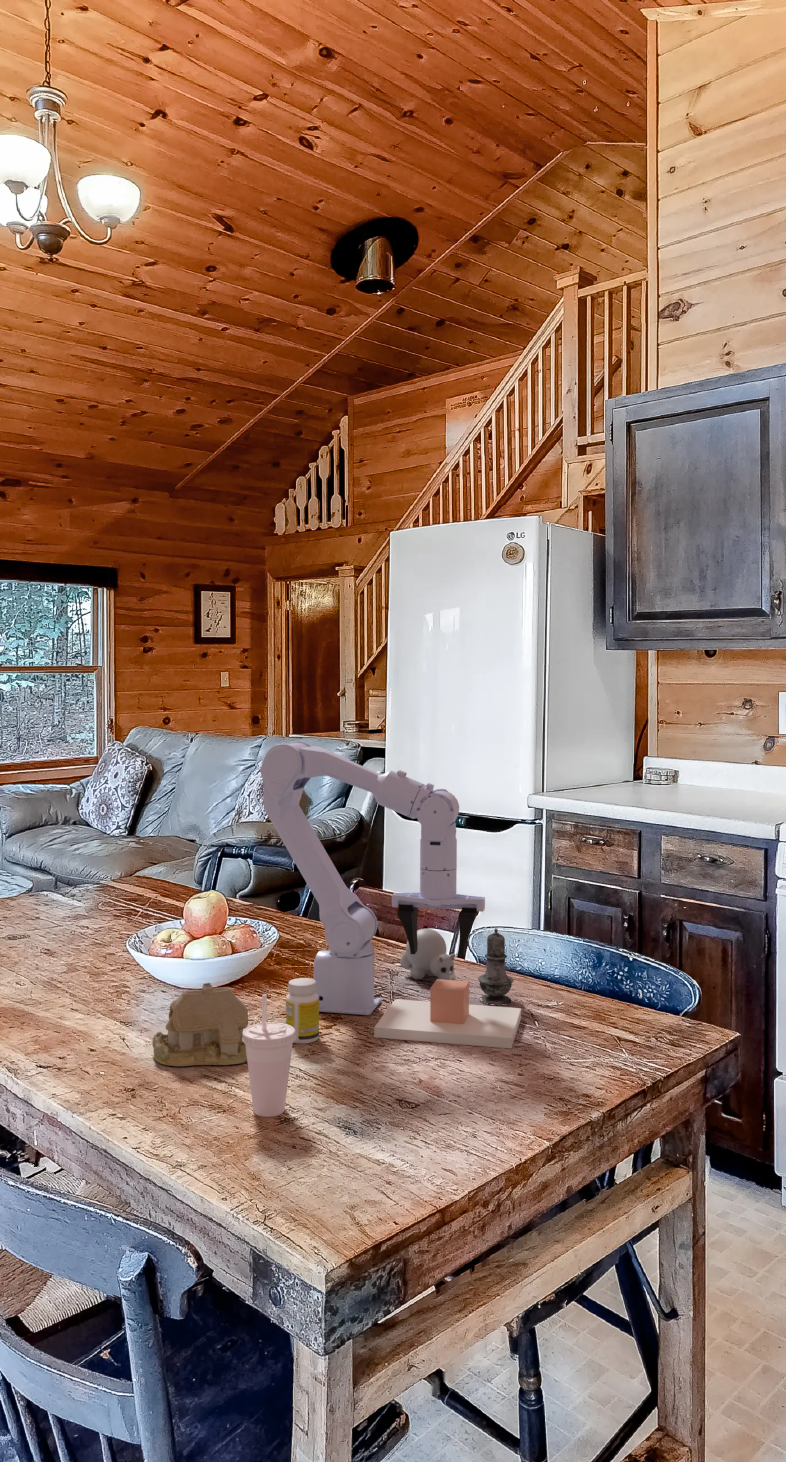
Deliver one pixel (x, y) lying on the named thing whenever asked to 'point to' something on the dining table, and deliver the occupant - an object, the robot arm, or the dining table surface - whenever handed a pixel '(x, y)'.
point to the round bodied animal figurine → (429, 957)
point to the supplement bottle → (303, 1010)
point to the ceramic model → (203, 1029)
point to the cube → (449, 1001)
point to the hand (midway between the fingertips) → (437, 954)
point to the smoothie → (268, 1063)
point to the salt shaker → (495, 972)
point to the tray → (450, 1025)
